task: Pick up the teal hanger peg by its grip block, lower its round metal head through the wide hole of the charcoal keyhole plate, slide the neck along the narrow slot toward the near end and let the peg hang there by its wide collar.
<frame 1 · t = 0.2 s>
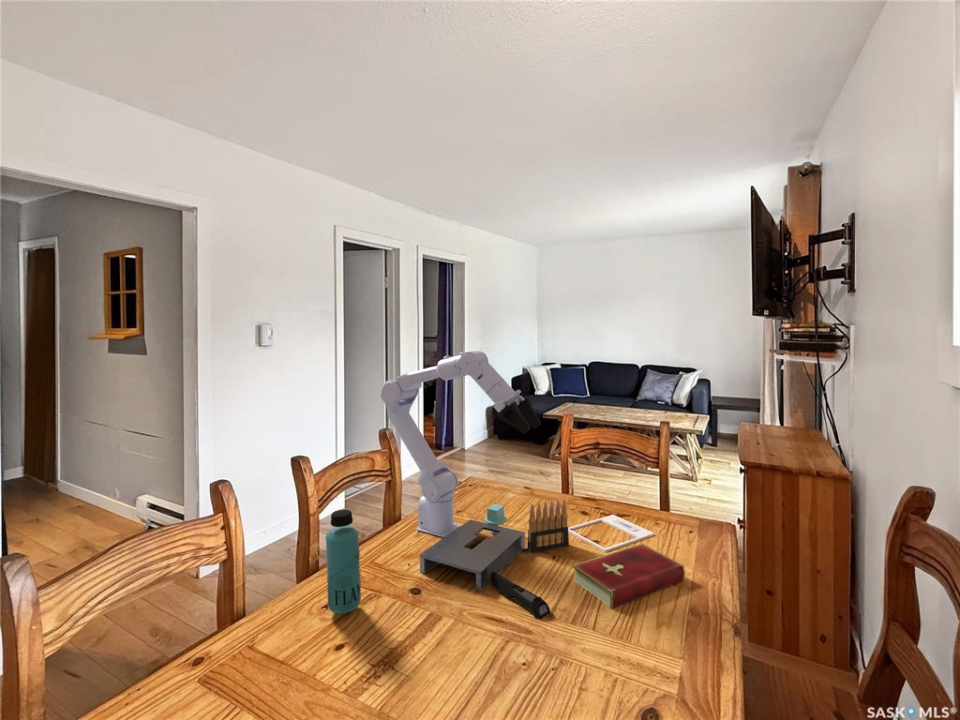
hand: (532, 428, 114), 31 cm above the table, tool tilted 45°, fingers open, 7 cm apart
ammunition clip: (548, 548, 118), on the table
electric trimmer: (517, 602, 96), on the table
hanger peg: (495, 531, 128), on the table
keyhole plate: (475, 559, 113), on the table
photo frame: (609, 534, 126), on the table
hardcover book: (628, 583, 103), on the table
beverage bottle: (344, 612, 93), on the table
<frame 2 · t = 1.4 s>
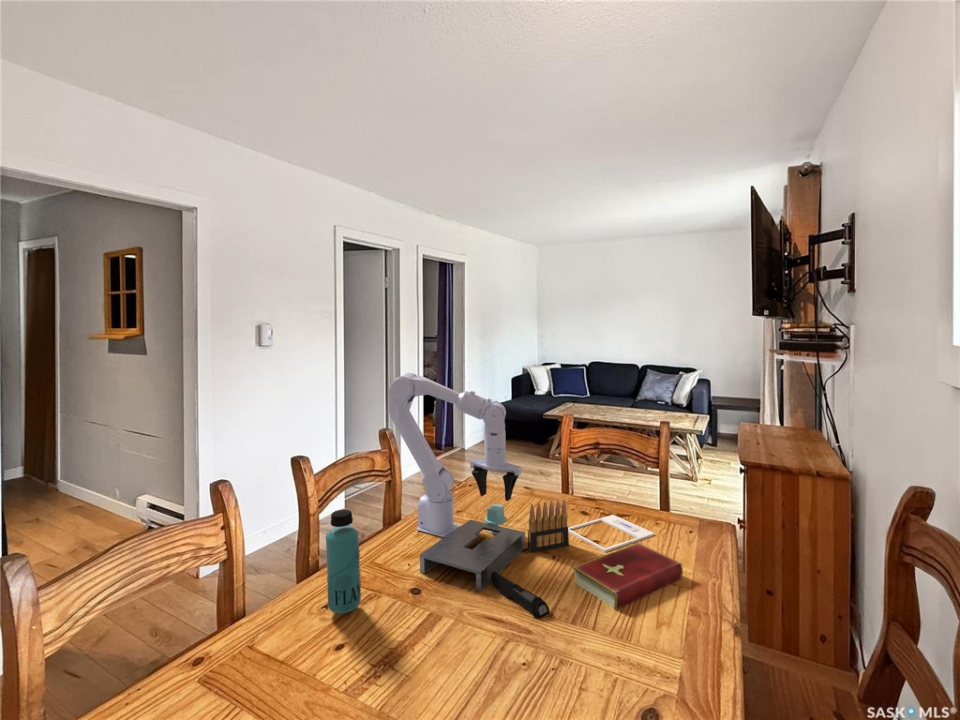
hand: (495, 497, 127), 10 cm above the table, tool pointing down, fingers open, 7 cm apart
nothing on the table moved.
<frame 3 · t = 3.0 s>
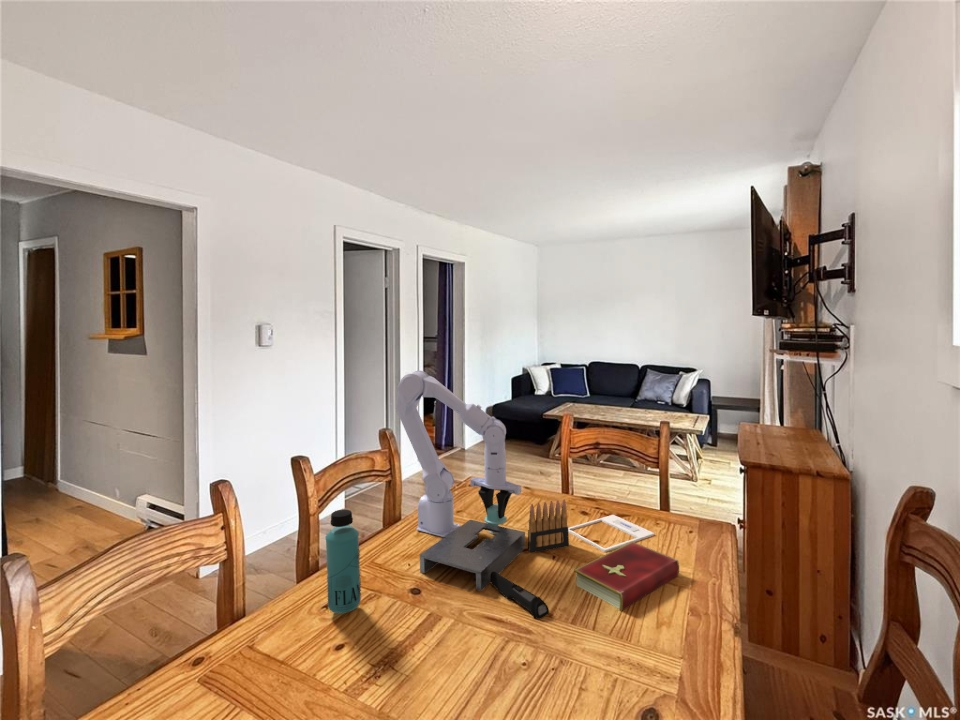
hand: (495, 515, 128), 4 cm above the table, tool pointing down, fingers closed on hanger peg, 3 cm apart
hanger peg: (495, 531, 128), on the table, touching gripper
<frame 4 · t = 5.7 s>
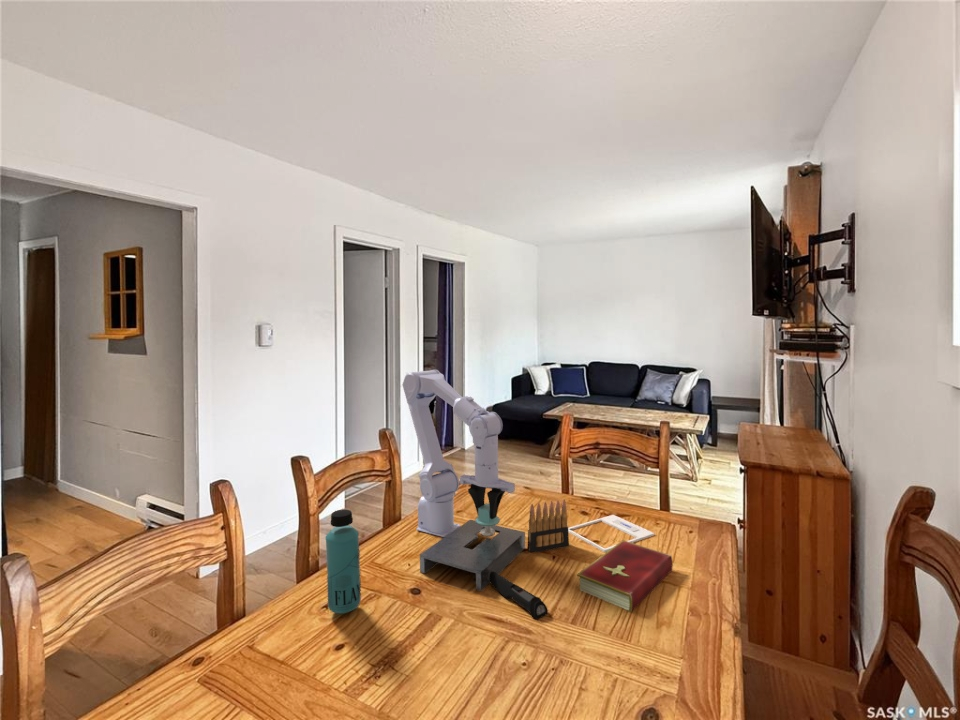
hand: (487, 516, 117), 8 cm above the table, tool pointing down, fingers closed on hanger peg, 3 cm apart
hanger peg: (487, 533, 118), point 4 cm above the table, touching gripper
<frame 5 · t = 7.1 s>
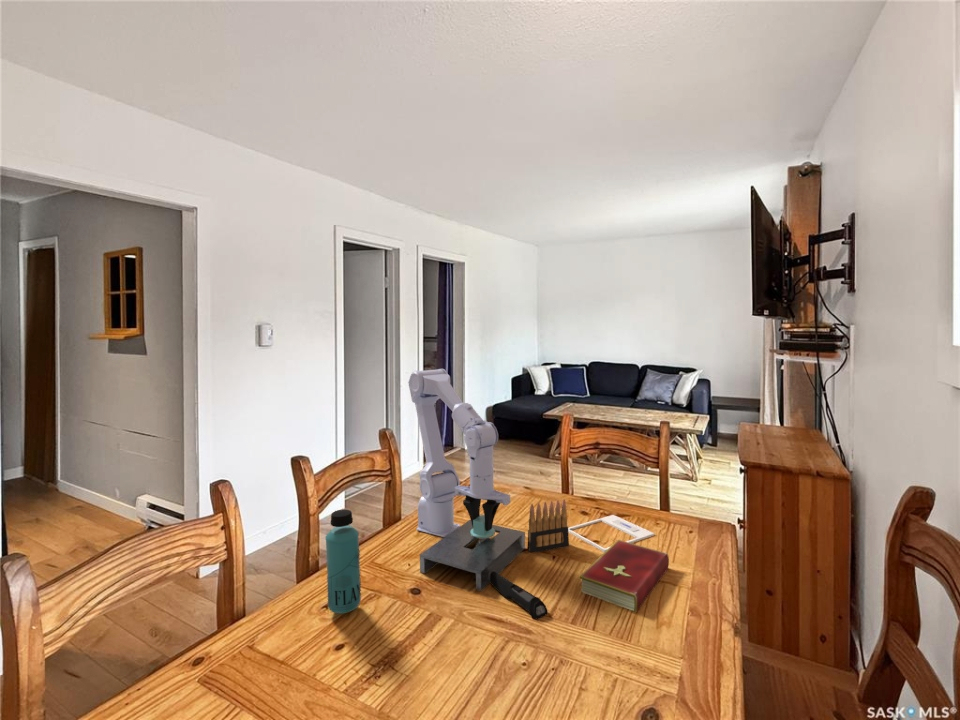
hand: (482, 528, 115), 6 cm above the table, tool pointing down, fingers closed on hanger peg, 3 cm apart
hanger peg: (482, 545, 116), point 2 cm above the table, touching gripper
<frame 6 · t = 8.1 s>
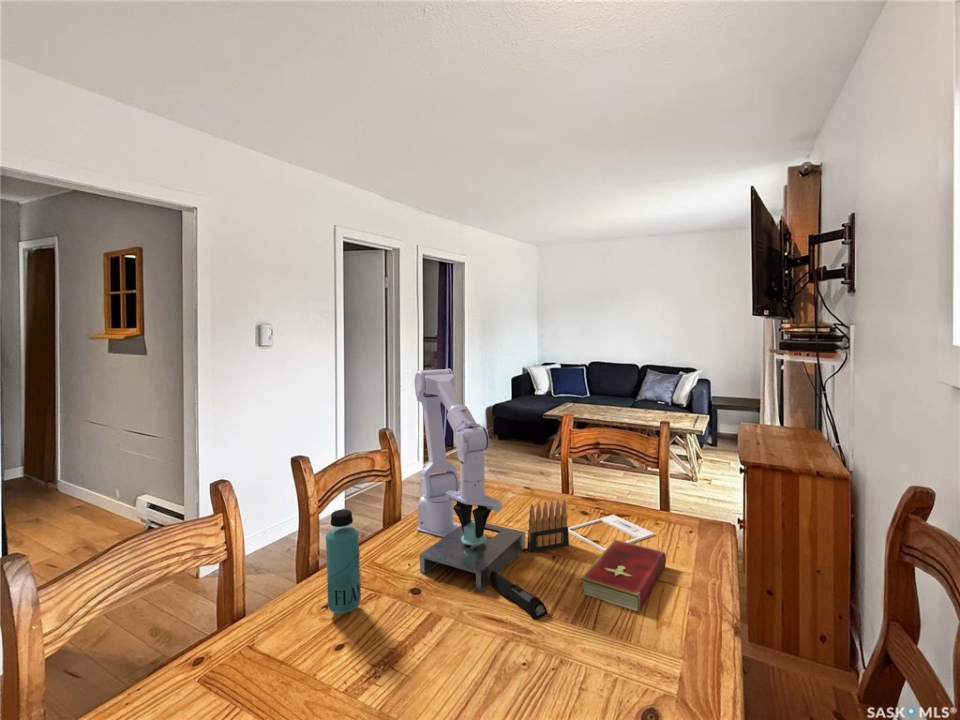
hand: (473, 534, 112), 6 cm above the table, tool pointing down, fingers closed on hanger peg, 3 cm apart
hanger peg: (474, 552, 112), point 2 cm above the table, touching gripper
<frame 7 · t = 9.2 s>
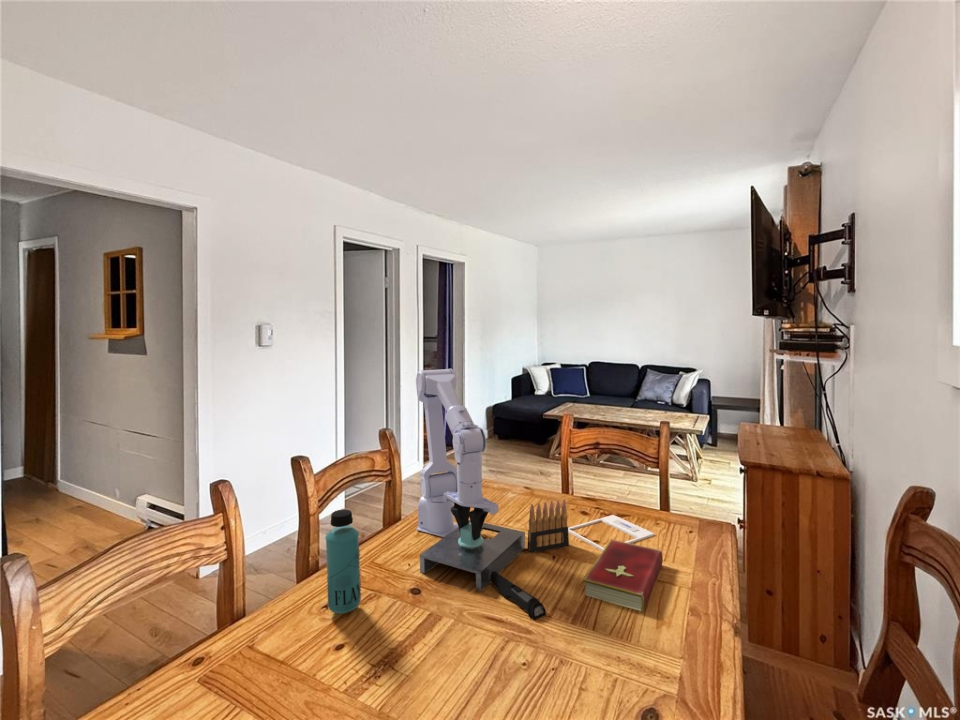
hand: (470, 536, 110), 6 cm above the table, tool pointing down, fingers closed on hanger peg, 3 cm apart
hanger peg: (471, 555, 111), point 2 cm above the table, touching gripper
when the fingers open (6 cm above the table, at t = 9.4 s): hanger peg stays where it is, resting on keyhole plate.
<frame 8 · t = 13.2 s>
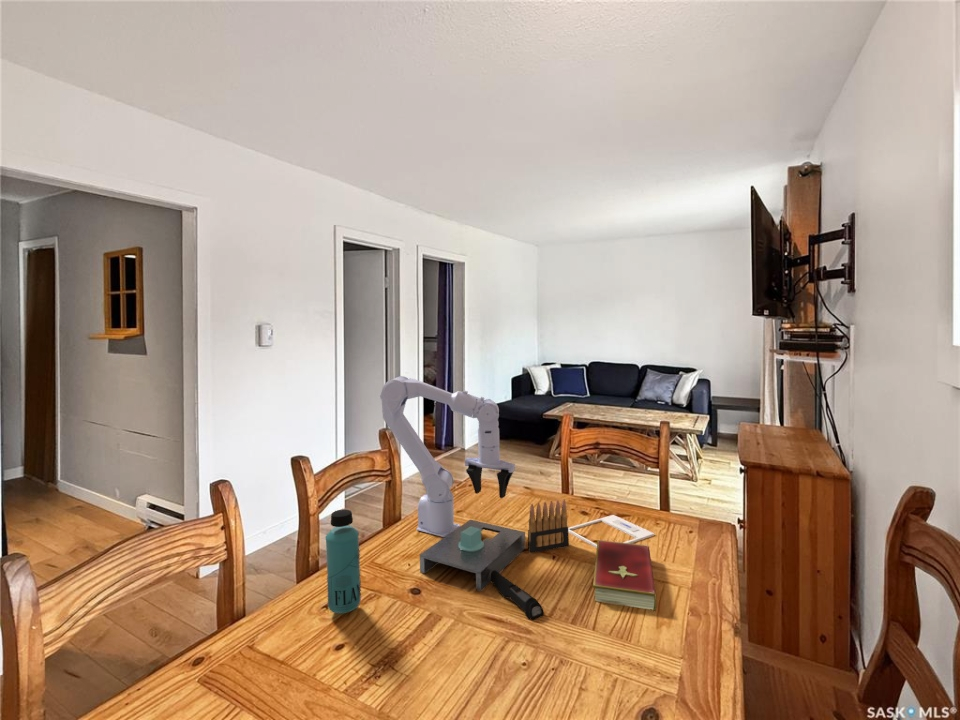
hand: (490, 494, 128), 10 cm above the table, tool pointing down, fingers open, 7 cm apart
hanger peg: (471, 558, 111), point 1 cm above the table, touching keyhole plate
at the end: hanger peg 0.3 cm from the target spot on the keyhole plate, point 1.0 cm above the keyhole plate's base; hanger peg tilted 0°; the gripper is holding nothing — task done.
